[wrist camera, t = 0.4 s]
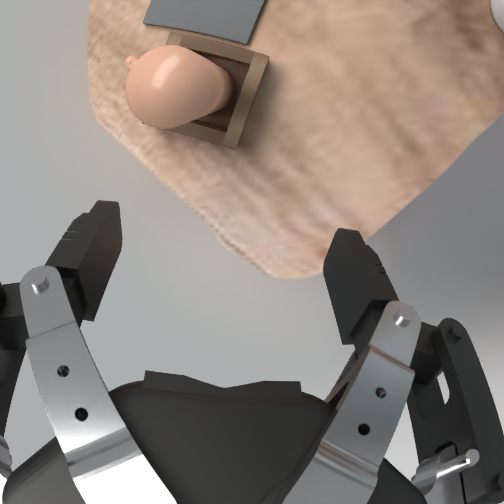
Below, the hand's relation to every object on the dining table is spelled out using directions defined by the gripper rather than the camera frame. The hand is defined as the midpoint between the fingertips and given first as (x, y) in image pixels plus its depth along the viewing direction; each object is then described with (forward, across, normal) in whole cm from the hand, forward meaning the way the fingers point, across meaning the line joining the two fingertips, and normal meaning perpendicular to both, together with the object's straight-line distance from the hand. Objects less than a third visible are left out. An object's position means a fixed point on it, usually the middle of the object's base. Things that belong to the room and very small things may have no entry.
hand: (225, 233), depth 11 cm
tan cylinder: (+28, +4, -1) cm, 28 cm away
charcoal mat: (+30, +5, -14) cm, 33 cm away
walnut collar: (+28, +3, 0) cm, 28 cm away
